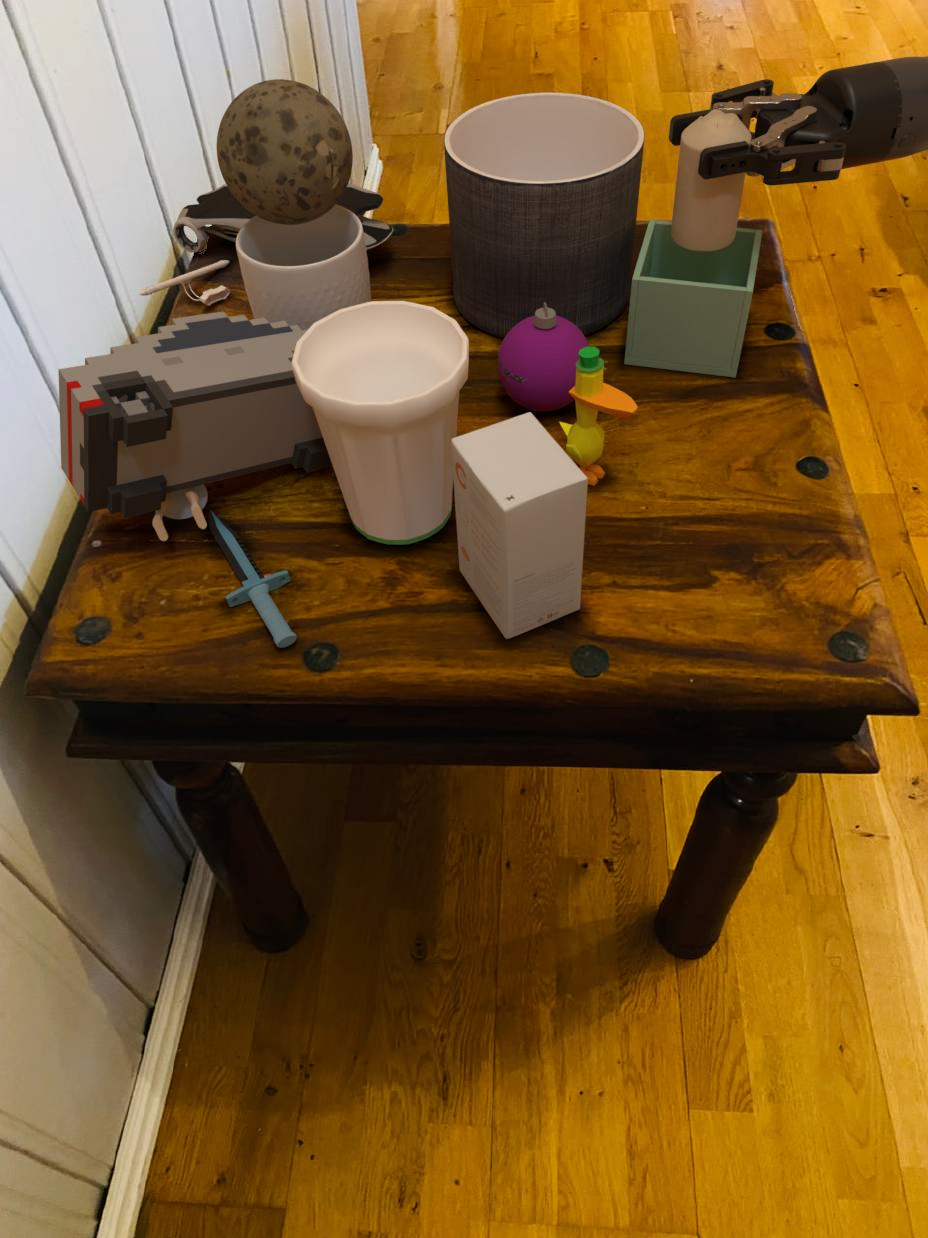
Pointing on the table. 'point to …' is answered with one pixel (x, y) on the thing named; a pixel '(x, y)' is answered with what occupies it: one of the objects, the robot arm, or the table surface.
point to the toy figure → (592, 412)
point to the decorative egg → (284, 152)
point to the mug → (304, 267)
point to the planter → (543, 209)
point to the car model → (233, 215)
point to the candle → (707, 186)
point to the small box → (519, 522)
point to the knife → (252, 582)
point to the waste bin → (690, 303)
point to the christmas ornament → (541, 360)
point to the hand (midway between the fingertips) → (686, 147)
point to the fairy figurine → (181, 508)
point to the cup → (387, 411)
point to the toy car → (185, 412)
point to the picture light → (206, 298)
